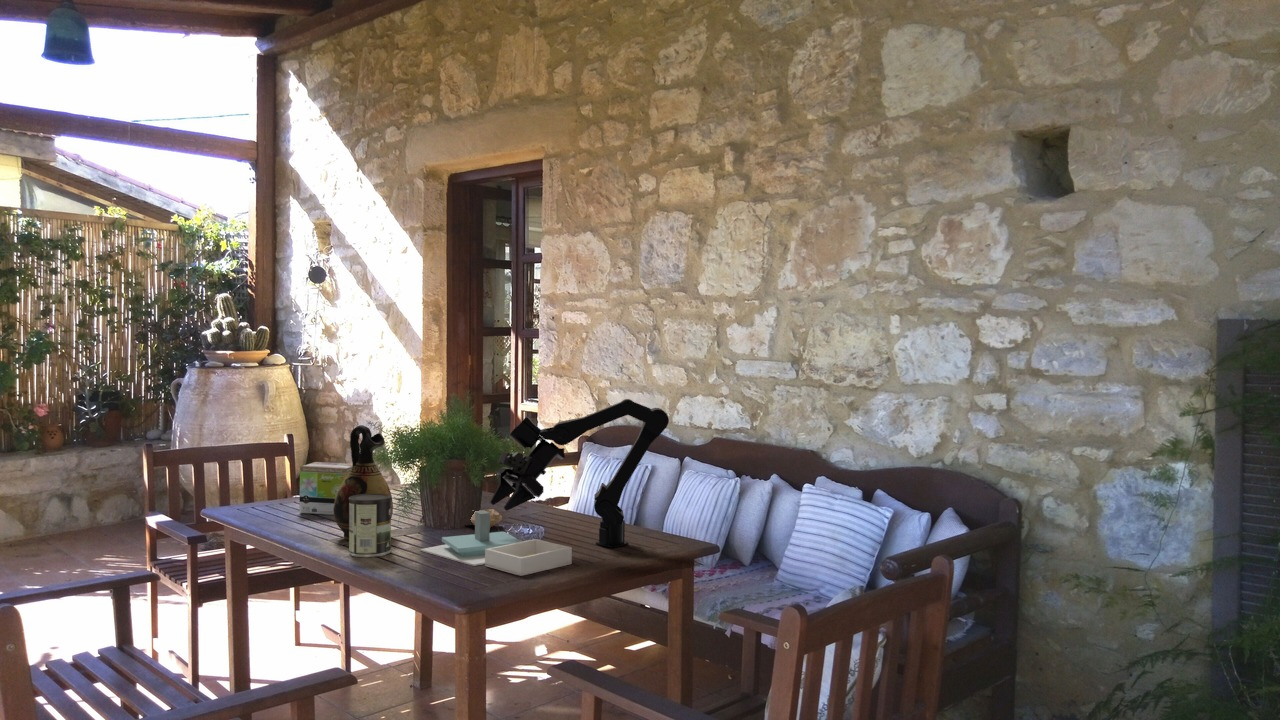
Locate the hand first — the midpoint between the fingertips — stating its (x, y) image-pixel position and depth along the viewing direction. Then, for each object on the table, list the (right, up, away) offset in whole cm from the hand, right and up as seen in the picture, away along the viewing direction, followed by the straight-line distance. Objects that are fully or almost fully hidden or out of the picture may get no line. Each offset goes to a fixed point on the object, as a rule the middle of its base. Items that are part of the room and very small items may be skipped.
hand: (498, 506), depth 235 cm
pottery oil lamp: (-9, -11, +28) cm, 32 cm away
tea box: (-59, -9, +46) cm, 75 cm away
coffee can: (-31, -11, -5) cm, 34 cm away
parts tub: (+10, -12, -15) cm, 21 cm away
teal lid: (-4, -11, -2) cm, 11 cm away
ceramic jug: (-39, -10, +12) cm, 42 cm away
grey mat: (-4, -11, -2) cm, 12 cm away
